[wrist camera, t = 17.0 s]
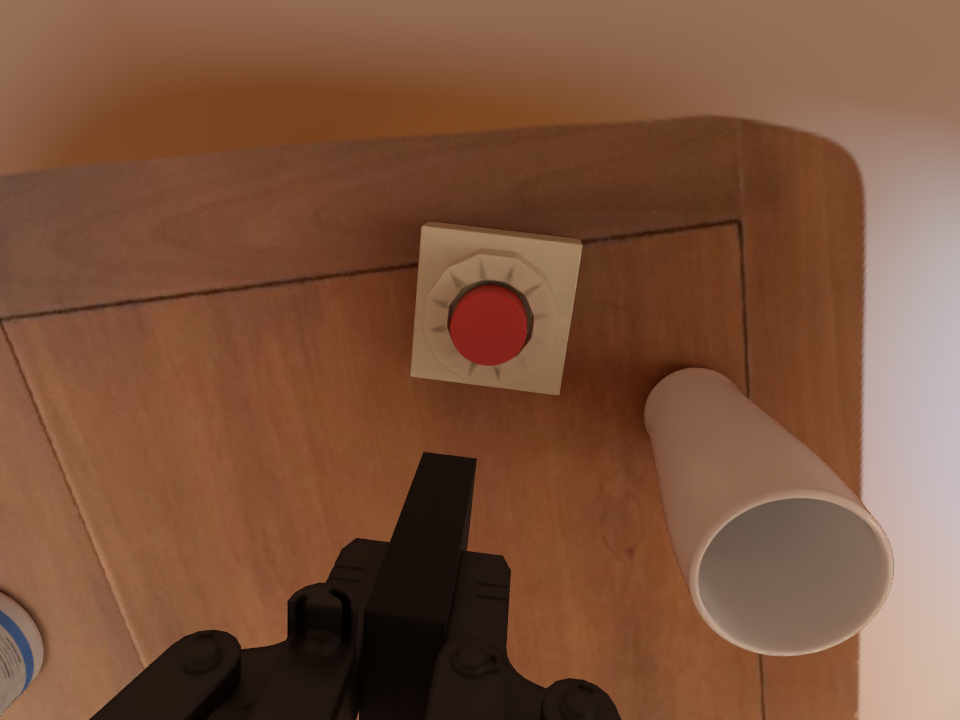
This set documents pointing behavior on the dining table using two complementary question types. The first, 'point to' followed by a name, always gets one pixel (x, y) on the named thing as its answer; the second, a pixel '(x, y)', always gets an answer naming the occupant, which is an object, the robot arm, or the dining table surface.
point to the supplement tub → (17, 651)
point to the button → (489, 325)
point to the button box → (504, 262)
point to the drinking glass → (761, 522)
